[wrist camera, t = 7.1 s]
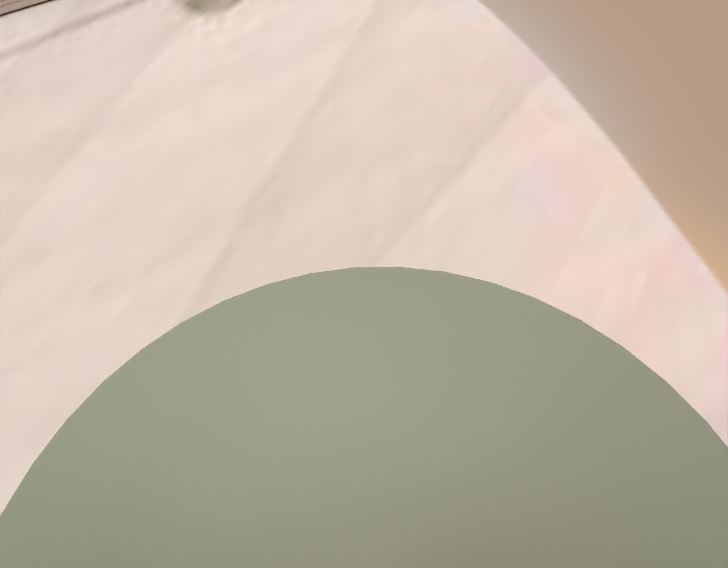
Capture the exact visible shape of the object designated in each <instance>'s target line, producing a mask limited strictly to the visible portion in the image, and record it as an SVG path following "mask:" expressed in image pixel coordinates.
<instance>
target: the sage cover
mask: <svg viewBox="0 0 728 568" xmlns="http://www.w3.org/2000/svg"><path fill="white" fill-rule="evenodd" d="M0 568H728V447H727V446H726V445H725V444H724V442H723V441H722V440H721V439H720V438H719V436H718V435H717V434H716V433H715V431H714V430H713V429H712V428H711V426H710V425H709V424H708V423H707V422H706V421H705V420H704V419H703V418H702V417H701V416H700V415H699V414H698V413H697V412H696V411H695V410H694V409H693V408H692V407H691V406H690V405H689V404H688V403H687V402H686V401H685V400H684V399H683V398H682V397H681V396H680V395H679V394H678V393H677V392H676V391H675V390H674V389H673V388H672V387H671V386H670V385H669V384H668V383H667V382H666V381H665V380H664V379H662V378H661V377H660V376H659V375H657V374H656V373H655V372H654V371H652V370H651V369H650V368H649V367H647V366H646V365H645V364H644V363H642V362H641V361H640V360H639V359H637V358H636V357H635V356H634V355H632V354H631V353H630V352H629V351H627V350H626V349H625V348H624V347H622V346H621V345H619V344H617V343H616V342H614V341H613V340H611V339H610V338H608V337H606V336H605V335H603V334H602V333H600V332H598V331H597V330H595V329H594V328H592V327H591V326H589V325H587V324H586V323H584V322H583V321H581V320H579V319H577V318H575V317H573V316H571V315H569V314H567V313H565V312H563V311H561V310H559V309H557V308H555V307H553V306H551V305H549V304H547V303H544V302H542V301H540V300H538V299H536V298H534V297H531V296H528V295H525V294H522V293H520V292H517V291H514V290H511V289H508V288H505V287H503V286H500V285H497V284H494V283H491V282H487V281H483V280H479V279H474V278H470V277H465V276H461V275H456V274H452V273H447V272H442V271H432V270H422V269H413V268H403V267H368V268H348V269H341V270H333V271H325V272H318V273H310V274H306V275H302V276H298V277H294V278H290V279H286V280H283V281H279V282H275V283H271V284H267V285H264V286H261V287H259V288H256V289H253V290H251V291H248V292H246V293H243V294H240V295H238V296H235V297H233V298H230V299H227V300H225V301H222V302H220V303H219V304H217V305H215V306H213V307H211V308H209V309H207V310H205V311H203V312H201V313H199V314H197V315H195V316H194V317H192V318H190V319H188V320H186V321H184V322H182V323H180V324H179V325H177V326H176V327H174V328H173V329H171V330H170V331H168V332H167V333H165V334H164V335H162V336H161V337H160V338H158V339H157V340H155V341H154V342H152V343H151V344H149V345H148V346H146V347H145V348H143V349H142V350H140V351H139V352H138V353H137V354H136V355H134V356H133V357H132V358H131V359H130V360H129V361H127V362H126V363H125V364H124V365H123V366H121V367H120V368H119V369H118V370H117V371H115V372H114V373H113V374H112V375H111V376H110V377H108V378H107V379H106V380H105V381H104V382H103V383H102V384H101V385H100V386H99V387H98V388H97V389H96V390H95V391H94V392H93V393H92V394H91V395H90V396H89V397H88V398H87V399H86V400H85V401H84V402H83V403H82V405H81V406H80V407H79V408H78V409H77V410H76V411H75V412H74V413H73V414H72V415H71V416H70V417H69V418H68V419H67V420H66V422H65V423H64V424H63V425H62V427H61V428H60V429H59V431H58V432H57V433H56V434H55V436H54V437H53V438H52V440H51V441H50V442H49V443H48V445H47V446H46V447H45V449H44V450H43V451H42V453H41V454H40V455H39V456H38V458H37V459H36V460H35V462H34V463H33V464H32V466H31V468H30V469H29V471H28V472H27V474H26V476H25V477H24V479H23V480H22V482H21V484H20V485H19V487H18V488H17V490H16V492H15V493H14V495H13V496H12V498H11V500H10V501H9V503H8V505H7V506H6V508H5V509H4V511H3V513H2V515H1V517H0Z"/></svg>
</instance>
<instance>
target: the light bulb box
mask: <svg viewBox="0 0 728 568" xmlns="http://www.w3.org/2000/svg"><path fill="white" fill-rule="evenodd" d="M43 1H47V0H0V14H4V13H7V12H10V11H14V10H17V9H20V8H23V7H27V6H30V5H33V4H37V3H40V2H43Z"/></svg>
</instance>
